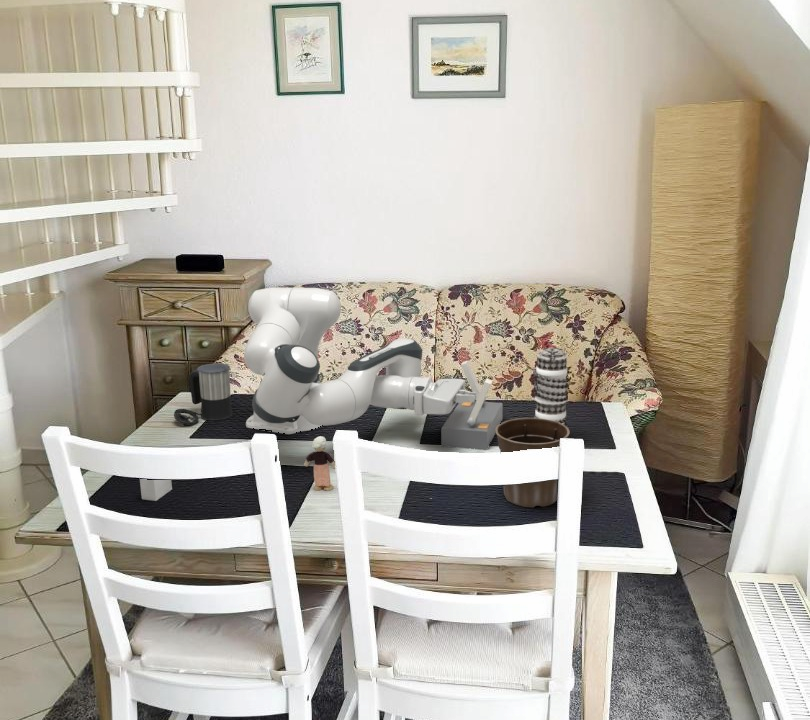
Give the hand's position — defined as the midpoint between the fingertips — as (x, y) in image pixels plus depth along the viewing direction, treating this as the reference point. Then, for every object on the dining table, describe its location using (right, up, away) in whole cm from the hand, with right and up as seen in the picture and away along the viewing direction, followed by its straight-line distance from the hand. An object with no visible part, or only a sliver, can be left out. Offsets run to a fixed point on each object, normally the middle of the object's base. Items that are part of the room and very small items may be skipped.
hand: (475, 397), depth 227 cm
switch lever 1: (+3, -3, +18) cm, 19 cm away
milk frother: (-76, -8, +27) cm, 81 cm away
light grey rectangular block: (-76, -22, -24) cm, 82 cm away
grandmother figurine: (-38, -20, -22) cm, 48 cm away
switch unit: (0, -10, +12) cm, 16 cm away
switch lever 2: (-1, -7, +2) cm, 8 cm away
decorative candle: (+20, -12, +4) cm, 24 cm away
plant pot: (+10, -21, -29) cm, 38 cm away
